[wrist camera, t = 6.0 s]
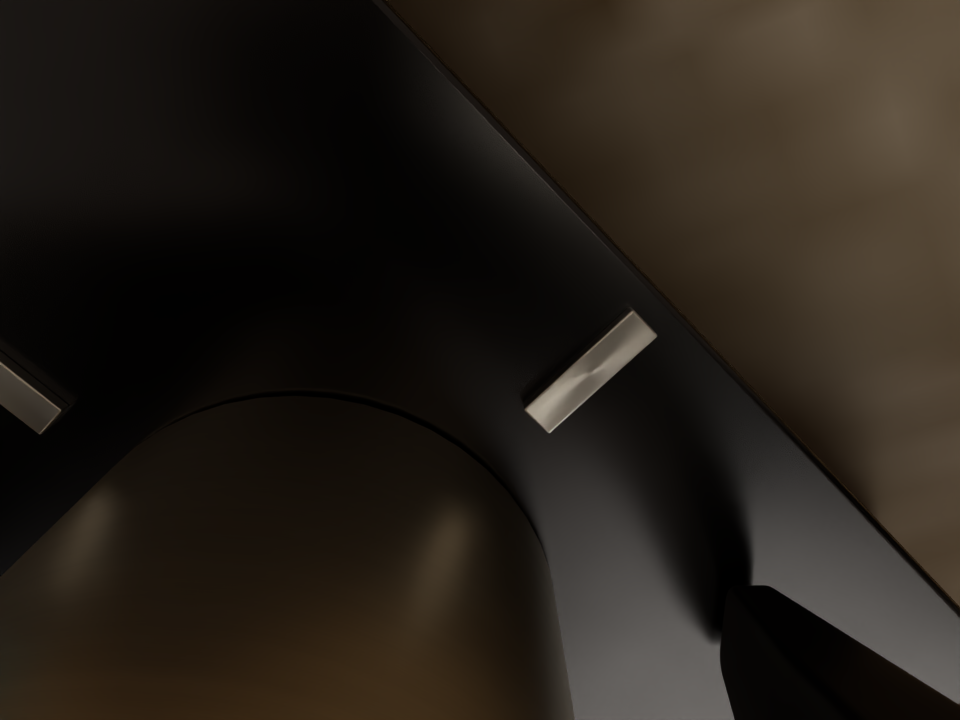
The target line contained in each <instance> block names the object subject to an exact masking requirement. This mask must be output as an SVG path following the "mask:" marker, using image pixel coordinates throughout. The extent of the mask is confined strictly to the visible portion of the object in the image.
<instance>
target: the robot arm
mask: <svg viewBox="0 0 960 720" xmlns="http://www.w3.org/2000/svg"><path fill="white" fill-rule="evenodd" d="M720 666H721V672H722V676H723V680H724V683H725V687H726V691H727V694H728V698H729V702H730V705H731V709H732V713H733V716H734V720H960V705H959V704H957V703H956V702H954V701H952V700H951V699H949V698H948V697H946V696H944V695H943V694H941V693H940V692H938V691H936V690H935V689H933V688H932V687H930V686H929V685H927V684H925V683H924V682H922V681H921V680H919V679H917V678H916V677H914V676H913V675H911V674H909V673H908V672H906V671H905V670H903V669H901V668H900V667H898V666H897V665H895V664H893V663H892V662H890V661H889V660H887V659H886V658H884V657H882V656H881V655H879V654H878V653H876V652H874V651H873V650H871V649H870V648H868V647H866V646H865V645H863V644H862V643H860V642H858V641H857V640H855V639H854V638H852V637H850V636H849V635H847V634H846V633H844V632H843V631H841V630H839V629H838V628H836V627H835V626H833V625H831V624H830V623H828V622H827V621H825V620H823V619H822V618H820V617H819V616H817V615H815V614H814V613H812V612H811V611H809V610H807V609H806V608H804V607H803V606H801V605H800V604H798V603H796V602H795V601H793V600H792V599H790V598H788V597H787V596H785V595H784V594H782V593H780V592H779V591H777V590H776V589H774V588H772V587H770V586H766V585H736V586H733V587H732V588H730V589H729V591H728V593H727V596H726V601H725V610H724V618H723V627H722V635H721V644H720Z"/></svg>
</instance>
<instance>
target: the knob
mask: <svg viewBox="0 0 960 720" xmlns="http://www.w3.org/2000/svg"><path fill="white" fill-rule="evenodd" d="M0 720H575V717H574V711H573V704H572V698H571V692H570V686H569V680H568V674H567V668H566V662H565V656H564V649H563V643H562V637H561V631H560V625H559V619H558V613H557V607H556V600H555V595H554V590H553V584H552V579H551V574H550V570H549V567H548V564H547V561H546V558H545V555H544V553H543V550H542V547H541V544H540V542H539V540H538V538H537V536H536V534H535V532H534V531H533V529H532V527H531V525H530V523H529V521H528V519H527V517H526V516H525V514H524V513H523V512H522V510H521V509H520V508H519V506H518V505H517V503H516V502H515V501H514V499H513V498H512V496H511V495H510V494H509V492H508V491H507V490H506V489H505V488H504V487H503V486H502V485H501V484H500V483H499V482H498V481H497V480H496V479H495V478H494V476H493V475H492V474H491V473H490V472H489V471H488V470H487V469H486V468H485V467H483V466H482V465H481V464H480V463H478V462H477V461H476V460H475V459H473V458H472V457H471V456H470V455H468V454H467V453H466V452H465V451H463V450H462V449H461V448H460V447H458V446H456V445H455V444H453V443H452V442H450V441H448V440H447V439H445V438H443V437H442V436H440V435H439V434H437V433H435V432H434V431H432V430H430V429H428V428H426V427H424V426H421V425H419V424H417V423H415V422H413V421H410V420H408V419H406V418H404V417H402V416H399V415H397V414H393V413H390V412H387V411H384V410H381V409H378V408H374V407H371V406H368V405H365V404H359V403H354V402H349V401H343V400H338V399H333V398H322V397H306V396H281V397H263V398H255V399H250V400H244V401H239V402H233V403H228V404H223V405H220V406H217V407H214V408H211V409H208V410H205V411H202V412H199V413H196V414H193V415H190V416H188V417H186V418H184V419H182V420H180V421H178V422H176V423H174V424H172V425H170V426H167V427H165V428H163V429H162V430H160V431H159V432H157V433H156V434H154V435H153V436H151V437H150V438H148V439H147V440H145V441H144V442H142V443H141V444H139V445H138V446H136V447H135V448H134V449H133V450H132V451H130V452H129V453H128V454H127V455H126V456H125V457H124V458H123V459H122V460H120V461H119V462H118V463H117V464H116V465H115V466H114V467H113V468H112V469H111V470H110V471H109V472H108V473H107V474H106V475H105V476H103V477H102V478H101V479H100V480H99V481H98V482H97V483H96V484H95V485H94V486H93V487H92V488H91V489H90V490H89V491H88V492H87V493H86V494H85V495H84V496H83V497H82V498H81V499H80V500H79V501H78V502H77V503H76V504H75V505H74V506H73V507H72V508H71V509H70V510H69V511H68V512H67V513H66V514H64V515H63V516H62V517H61V518H60V519H59V520H58V521H57V522H56V523H55V524H54V525H53V526H52V527H51V528H50V529H49V530H48V531H47V532H46V533H45V534H44V535H43V536H42V537H41V538H40V539H39V540H38V541H37V542H36V543H35V544H34V545H33V546H32V547H31V548H30V549H29V550H28V551H27V552H25V553H24V554H23V555H22V556H21V557H20V558H19V559H18V560H17V561H16V562H15V563H14V564H13V565H12V566H11V567H10V568H9V569H8V570H7V571H6V572H5V573H4V574H3V575H2V576H1V577H0Z"/></svg>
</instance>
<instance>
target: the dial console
mask: <svg viewBox="0 0 960 720" xmlns="http://www.w3.org/2000/svg"><path fill="white" fill-rule="evenodd" d="M281 396H306V397H322V398H333V399H338V400H343V401H349V402H354V403H359V404H365V405H368V406H371V407H374V408H378V409H381V410H384V411H387V412H390V413H393V414H397V415H399V416H402V417H404V418H406V419H408V420H410V421H413V422H415V423H417V424H419V425H421V426H424V427H426V428H428V429H430V430H432V431H434V432H435V433H437V434H439V435H440V436H442V437H443V438H445V439H447V440H448V441H450V442H452V443H453V444H455V445H456V446H458V447H460V448H461V449H462V450H463V451H465V452H466V453H467V454H468V455H470V456H471V457H472V458H473V459H475V460H476V461H477V462H478V463H480V464H481V465H482V466H483V467H485V468H486V469H487V470H488V471H489V472H490V473H491V474H492V475H493V476H494V478H495V479H496V480H497V481H498V482H499V483H500V484H501V485H502V486H503V487H504V488H505V489H506V490H507V491H508V492H509V494H510V495H511V496H512V498H513V499H514V501H515V502H516V503H517V505H518V506H519V508H520V509H521V510H522V512H523V513H524V514H525V516H526V517H527V519H528V521H529V523H530V525H531V527H532V529H533V531H534V532H535V534H536V536H537V538H538V540H539V542H540V544H541V547H542V550H543V553H544V555H545V558H546V561H547V564H548V567H549V570H550V574H551V579H552V584H553V590H554V595H555V600H556V607H557V613H558V619H559V625H560V631H561V637H562V643H563V649H564V656H565V662H566V668H567V674H568V680H569V686H570V692H571V698H572V704H573V711H574V717H575V720H734V716H733V713H732V709H731V705H730V702H729V698H728V694H727V691H726V687H725V683H724V680H723V676H722V672H721V666H720V644H721V635H722V627H723V618H724V610H725V601H726V596H727V593H728V591H729V589H730V588H732V587H733V586H736V585H766V586H770V587H772V588H774V589H776V590H777V591H779V592H780V593H782V594H784V595H785V596H787V597H788V598H790V599H792V600H793V601H795V602H796V603H798V604H800V605H801V606H803V607H804V608H806V609H807V610H809V611H811V612H812V613H814V614H815V615H817V616H819V617H820V618H822V619H823V620H825V621H827V622H828V623H830V624H831V625H833V626H835V627H836V628H838V629H839V630H841V631H843V632H844V633H846V634H847V635H849V636H850V637H852V638H854V639H855V640H857V641H858V642H860V643H862V644H863V645H865V646H866V647H868V648H870V649H871V650H873V651H874V652H876V653H878V654H879V655H881V656H882V657H884V658H886V659H887V660H889V661H890V662H892V663H893V664H895V665H897V666H898V667H900V668H901V669H903V670H905V671H906V672H908V673H909V674H911V675H913V676H914V677H916V678H917V679H919V680H921V681H922V682H924V683H925V684H927V685H929V686H930V687H932V688H933V689H935V690H936V691H938V692H940V693H941V694H943V695H944V696H946V697H948V698H949V699H951V700H952V701H954V702H956V703H957V704H959V705H960V607H959V606H958V604H957V603H956V602H955V601H954V600H953V599H952V598H951V597H950V596H949V595H948V594H947V593H946V592H945V591H944V590H943V589H942V588H941V587H940V585H939V584H938V583H937V582H936V581H935V580H934V579H933V578H932V577H931V576H930V575H929V574H928V573H927V572H926V571H925V570H924V569H923V568H922V566H921V565H920V564H919V563H918V562H917V561H916V560H915V559H914V558H913V557H912V556H911V555H910V554H909V553H908V552H907V551H906V550H905V549H904V547H903V546H902V545H901V544H900V543H899V542H898V541H897V540H896V539H895V538H894V537H893V536H892V535H891V534H890V533H889V532H888V531H887V529H886V528H885V527H884V526H883V525H882V524H881V523H880V522H879V521H878V520H877V519H876V518H875V517H874V516H873V515H872V514H871V513H870V512H869V510H868V509H867V508H866V507H865V506H864V505H863V504H862V503H861V502H860V501H859V500H858V499H857V498H856V497H855V496H854V495H853V494H852V493H851V491H850V490H849V489H848V488H847V487H846V486H845V485H844V484H843V483H842V482H841V481H840V480H839V479H838V478H837V477H836V476H835V475H834V473H833V472H832V471H831V470H830V469H829V468H828V467H827V466H826V465H825V464H824V463H823V462H822V461H821V460H820V459H819V458H818V457H817V456H816V454H815V453H814V452H813V451H812V450H811V449H810V448H809V447H808V446H807V445H806V444H805V443H804V442H803V441H802V440H801V439H800V438H799V437H798V435H797V434H796V433H795V432H794V431H793V430H792V429H791V428H790V427H789V426H788V425H787V424H786V423H785V422H784V421H783V420H782V419H781V417H780V416H779V415H778V414H777V413H776V412H775V411H774V410H773V409H772V408H771V407H770V406H769V405H768V404H767V403H766V402H765V401H764V400H763V398H762V397H761V396H760V395H759V394H758V393H757V392H756V391H755V390H754V389H753V388H752V387H751V386H750V385H749V384H748V383H747V382H746V381H745V379H744V378H743V377H742V376H741V375H740V374H739V373H738V372H737V371H736V370H735V369H734V368H733V367H732V366H731V365H730V364H729V363H728V361H727V360H726V359H725V358H724V357H723V356H722V355H721V354H720V353H719V352H718V351H717V350H716V349H715V348H714V347H713V346H712V345H711V344H710V342H709V341H708V340H707V339H706V338H705V337H704V336H703V335H702V334H701V333H700V332H699V331H698V330H697V329H696V328H695V327H694V326H693V325H692V323H691V322H690V321H689V320H688V319H687V318H686V317H685V316H684V315H683V314H682V313H681V312H680V311H679V310H678V309H677V308H676V307H675V305H674V304H673V303H672V302H671V301H670V300H669V299H668V298H667V297H666V296H665V295H664V294H663V293H662V292H661V291H660V290H659V289H658V288H657V286H656V285H655V284H654V283H653V282H652V281H651V280H650V279H649V278H648V277H647V276H646V275H645V274H644V273H643V272H642V271H641V270H640V269H639V267H638V266H637V265H636V264H635V263H634V262H633V261H632V260H631V259H630V258H629V257H628V256H627V255H626V254H625V253H624V252H623V251H622V249H621V248H620V247H619V246H618V245H617V244H616V243H615V242H614V241H613V240H612V239H611V238H610V237H609V236H608V235H607V234H606V233H605V232H604V230H603V229H602V228H601V227H600V226H599V225H598V224H597V223H596V222H595V221H594V220H593V219H592V218H591V217H590V216H589V215H588V214H587V213H586V211H585V210H584V209H583V208H582V207H581V206H580V205H579V204H578V203H577V202H576V201H575V200H574V199H573V198H572V197H571V196H570V195H569V193H568V192H567V191H566V190H565V189H564V188H563V187H562V186H561V185H560V184H559V183H558V182H557V181H556V180H555V179H554V178H553V177H552V176H551V174H550V173H549V172H548V171H547V170H546V169H545V168H544V167H543V166H542V165H541V164H540V163H539V162H538V161H537V160H536V159H535V158H534V157H533V155H532V154H531V153H530V152H529V151H528V150H527V149H526V148H525V147H524V146H523V145H522V144H521V143H520V142H519V141H518V140H517V139H516V137H515V136H514V135H513V134H512V133H511V132H510V131H509V130H508V129H507V128H506V127H505V126H504V125H503V124H502V123H501V122H500V121H499V120H498V118H497V117H496V116H495V115H494V114H493V113H492V112H491V111H490V110H489V109H488V108H487V107H486V106H485V105H484V104H483V103H482V102H481V101H480V99H479V98H478V97H477V96H476V95H475V94H474V93H473V92H472V91H471V90H470V89H469V88H468V87H467V86H466V85H465V84H464V83H463V81H462V80H461V79H460V78H459V77H458V76H457V75H456V74H455V73H454V72H453V71H452V70H451V69H450V68H449V67H448V66H447V65H446V64H445V62H444V61H443V60H442V59H441V58H440V57H439V56H438V55H437V54H436V53H435V52H434V51H433V50H432V49H431V48H430V47H429V46H428V45H427V43H426V42H425V41H424V40H423V39H422V38H421V37H420V36H419V35H418V34H417V33H416V32H415V31H414V30H413V29H412V28H411V27H410V25H409V24H408V23H407V22H406V21H405V20H404V19H403V18H402V17H401V16H400V15H399V14H398V13H397V12H396V11H395V10H394V9H393V8H392V6H391V5H390V4H389V3H388V2H387V1H386V0H0V577H1V576H2V575H3V574H4V573H5V572H6V571H7V570H8V569H9V568H10V567H11V566H12V565H13V564H14V563H15V562H16V561H17V560H18V559H19V558H20V557H21V556H22V555H23V554H24V553H25V552H27V551H28V550H29V549H30V548H31V547H32V546H33V545H34V544H35V543H36V542H37V541H38V540H39V539H40V538H41V537H42V536H43V535H44V534H45V533H46V532H47V531H48V530H49V529H50V528H51V527H52V526H53V525H54V524H55V523H56V522H57V521H58V520H59V519H60V518H61V517H62V516H63V515H64V514H66V513H67V512H68V511H69V510H70V509H71V508H72V507H73V506H74V505H75V504H76V503H77V502H78V501H79V500H80V499H81V498H82V497H83V496H84V495H85V494H86V493H87V492H88V491H89V490H90V489H91V488H92V487H93V486H94V485H95V484H96V483H97V482H98V481H99V480H100V479H101V478H102V477H103V476H105V475H106V474H107V473H108V472H109V471H110V470H111V469H112V468H113V467H114V466H115V465H116V464H117V463H118V462H119V461H120V460H122V459H123V458H124V457H125V456H126V455H127V454H128V453H129V452H130V451H132V450H133V449H134V448H135V447H136V446H138V445H139V444H141V443H142V442H144V441H145V440H147V439H148V438H150V437H151V436H153V435H154V434H156V433H157V432H159V431H160V430H162V429H163V428H165V427H167V426H170V425H172V424H174V423H176V422H178V421H180V420H182V419H184V418H186V417H188V416H190V415H193V414H196V413H199V412H202V411H205V410H208V409H211V408H214V407H217V406H220V405H223V404H228V403H233V402H239V401H244V400H250V399H255V398H263V397H281Z"/></svg>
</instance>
